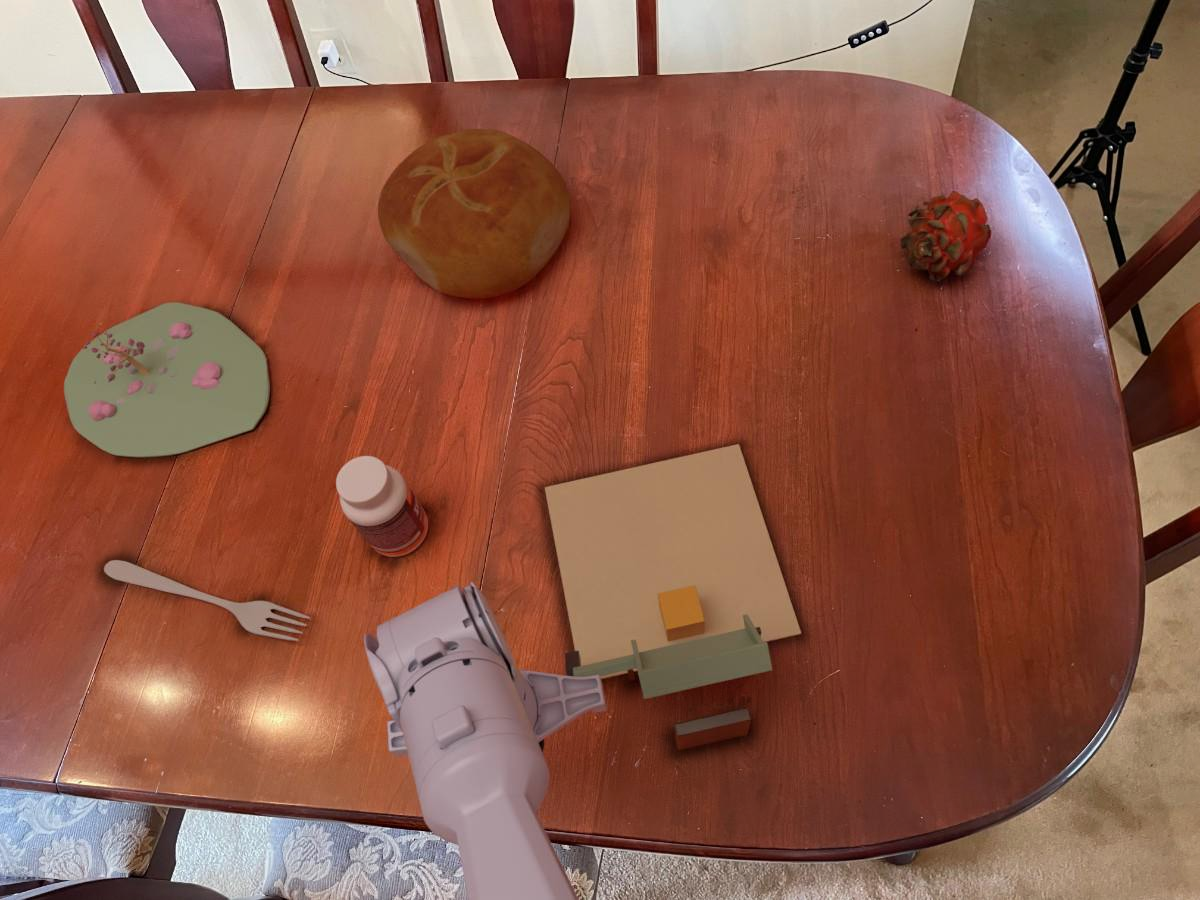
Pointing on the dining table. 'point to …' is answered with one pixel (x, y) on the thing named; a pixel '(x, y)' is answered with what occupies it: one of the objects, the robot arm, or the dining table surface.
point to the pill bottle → (381, 506)
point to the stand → (710, 725)
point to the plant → (167, 383)
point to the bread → (475, 212)
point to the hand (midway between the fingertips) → (519, 740)
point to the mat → (665, 553)
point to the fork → (209, 599)
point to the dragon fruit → (946, 235)
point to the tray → (686, 662)
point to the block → (681, 613)
